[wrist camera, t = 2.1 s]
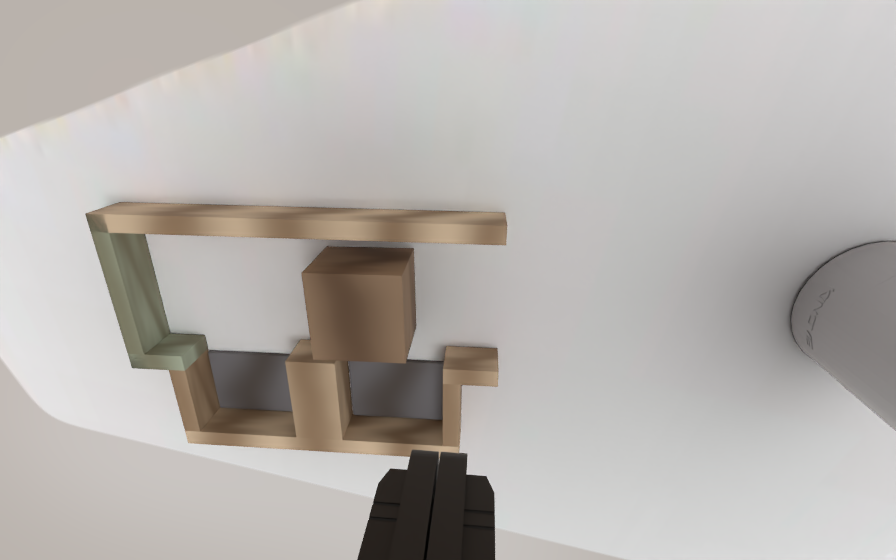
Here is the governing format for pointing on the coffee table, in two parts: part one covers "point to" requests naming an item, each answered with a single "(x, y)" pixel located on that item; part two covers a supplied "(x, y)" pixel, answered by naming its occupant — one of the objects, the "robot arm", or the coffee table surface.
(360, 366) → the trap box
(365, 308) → the walnut block
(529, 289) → the coffee table surface
